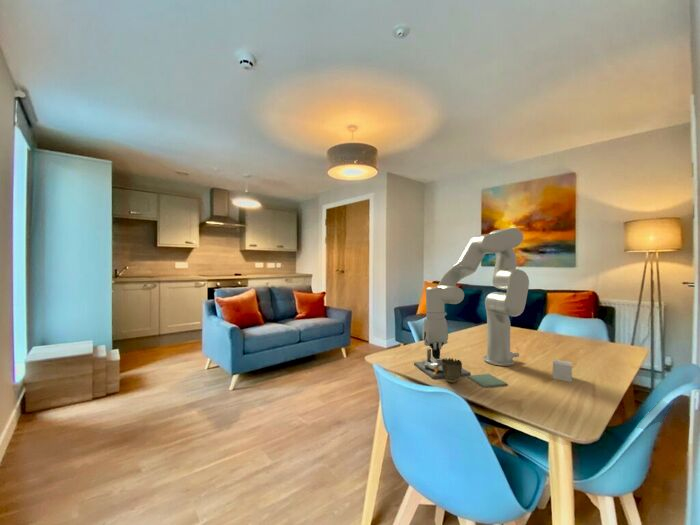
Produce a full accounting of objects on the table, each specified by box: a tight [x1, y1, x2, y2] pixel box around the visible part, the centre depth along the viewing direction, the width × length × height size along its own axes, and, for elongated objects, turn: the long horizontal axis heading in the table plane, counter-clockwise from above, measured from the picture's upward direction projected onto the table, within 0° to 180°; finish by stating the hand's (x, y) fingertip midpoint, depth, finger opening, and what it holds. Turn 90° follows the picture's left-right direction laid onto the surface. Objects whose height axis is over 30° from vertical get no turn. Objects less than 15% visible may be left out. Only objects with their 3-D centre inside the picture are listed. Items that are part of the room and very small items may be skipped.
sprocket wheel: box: [421, 348, 449, 372], centre depth 127 cm, size 15×15×6 cm
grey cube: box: [552, 359, 573, 383], centre depth 118 cm, size 6×6×6 cm
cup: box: [441, 357, 463, 384], centre depth 113 cm, size 8×7×8 cm
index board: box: [413, 361, 471, 380], centre depth 127 cm, size 17×17×1 cm
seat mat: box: [466, 373, 508, 388], centre depth 115 cm, size 10×10×1 cm
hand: (436, 358), depth 130 cm, fingers closed
